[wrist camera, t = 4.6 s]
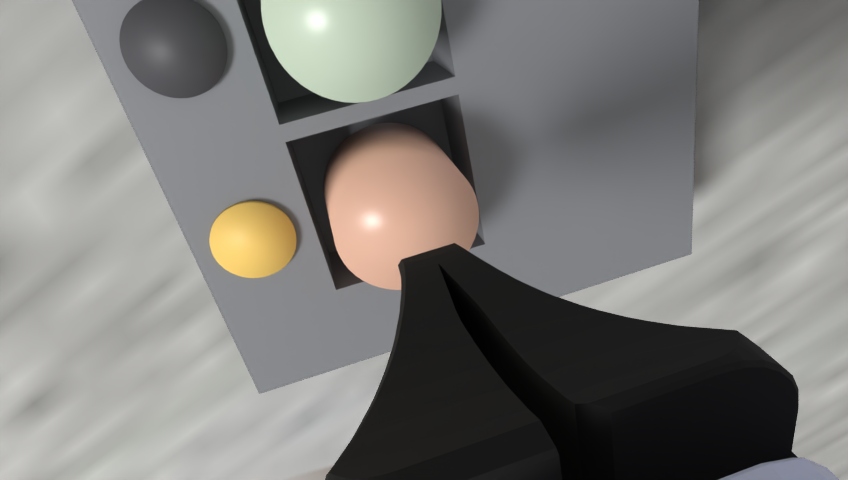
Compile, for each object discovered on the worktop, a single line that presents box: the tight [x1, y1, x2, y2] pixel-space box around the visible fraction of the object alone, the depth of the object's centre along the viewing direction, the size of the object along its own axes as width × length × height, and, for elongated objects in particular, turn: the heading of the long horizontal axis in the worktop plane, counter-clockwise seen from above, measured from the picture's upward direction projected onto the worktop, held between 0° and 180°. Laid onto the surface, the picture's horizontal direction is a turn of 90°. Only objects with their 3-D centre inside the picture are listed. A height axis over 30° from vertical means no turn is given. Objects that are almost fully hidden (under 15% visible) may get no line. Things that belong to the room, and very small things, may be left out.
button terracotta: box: [323, 123, 479, 290], centre depth 17 cm, size 4×4×3 cm
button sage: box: [261, 0, 441, 103], centre depth 14 cm, size 4×4×3 cm
